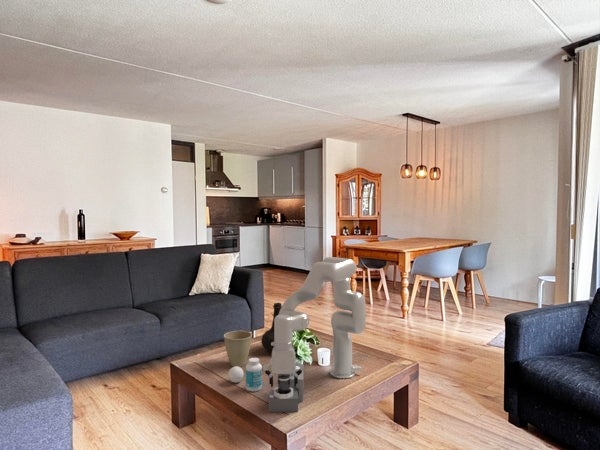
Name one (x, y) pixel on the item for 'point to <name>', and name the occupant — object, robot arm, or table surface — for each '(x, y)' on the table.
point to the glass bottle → (269, 334)
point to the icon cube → (298, 385)
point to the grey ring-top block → (283, 401)
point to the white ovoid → (236, 374)
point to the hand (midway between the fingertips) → (283, 385)
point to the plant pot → (237, 346)
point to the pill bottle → (253, 375)
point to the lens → (283, 383)
